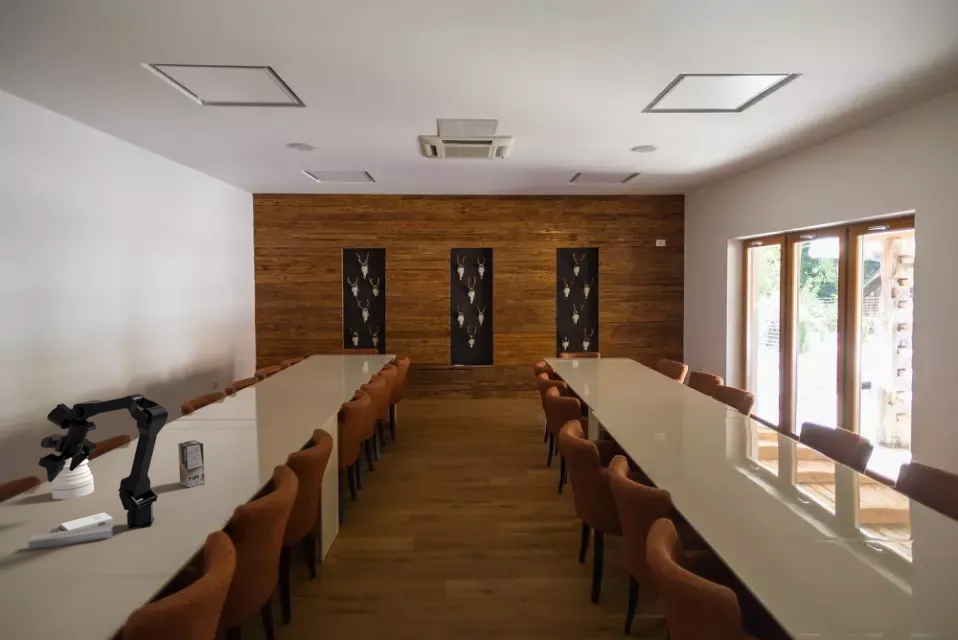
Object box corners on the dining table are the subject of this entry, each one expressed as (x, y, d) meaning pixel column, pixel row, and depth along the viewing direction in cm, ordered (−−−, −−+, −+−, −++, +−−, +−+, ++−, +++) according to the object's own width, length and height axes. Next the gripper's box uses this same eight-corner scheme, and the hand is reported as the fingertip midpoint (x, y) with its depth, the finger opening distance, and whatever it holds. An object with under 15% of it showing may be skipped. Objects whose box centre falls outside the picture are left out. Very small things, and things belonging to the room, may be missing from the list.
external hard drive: (60, 528, 183) (104, 516, 193) (68, 534, 178) (112, 522, 187) (59, 523, 183) (104, 511, 193) (67, 529, 178) (112, 517, 187)
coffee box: (205, 483, 222) (203, 443, 222) (188, 488, 218) (186, 446, 217) (196, 478, 229) (194, 439, 228) (179, 483, 224) (177, 442, 223)
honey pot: (90, 485, 223) (87, 440, 222) (97, 493, 214) (95, 446, 213) (49, 493, 214) (47, 446, 213) (55, 502, 205) (52, 453, 204)
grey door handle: (118, 527, 182) (117, 518, 181) (111, 538, 173) (111, 528, 173) (39, 538, 174) (38, 528, 174) (28, 550, 166) (27, 540, 166)
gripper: (74, 416, 196) (59, 455, 198) (30, 434, 178) (14, 477, 180) (104, 430, 196) (89, 469, 199) (63, 449, 178) (46, 492, 180)
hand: (60, 476), depth 189 cm, fingers open, 9 cm apart
